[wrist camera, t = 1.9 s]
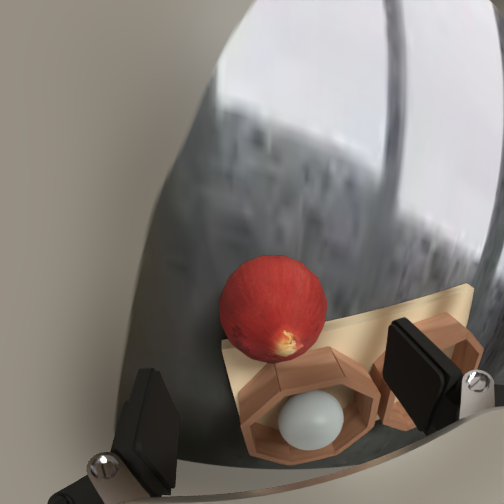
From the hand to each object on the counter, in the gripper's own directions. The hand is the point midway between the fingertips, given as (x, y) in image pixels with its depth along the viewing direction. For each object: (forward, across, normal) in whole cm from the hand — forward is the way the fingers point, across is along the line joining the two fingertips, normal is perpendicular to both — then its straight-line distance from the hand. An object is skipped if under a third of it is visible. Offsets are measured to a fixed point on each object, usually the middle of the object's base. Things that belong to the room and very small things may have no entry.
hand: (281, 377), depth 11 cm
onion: (+10, -1, 0) cm, 10 cm away
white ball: (+8, -2, +10) cm, 13 cm away
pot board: (+9, -8, +10) cm, 16 cm away
